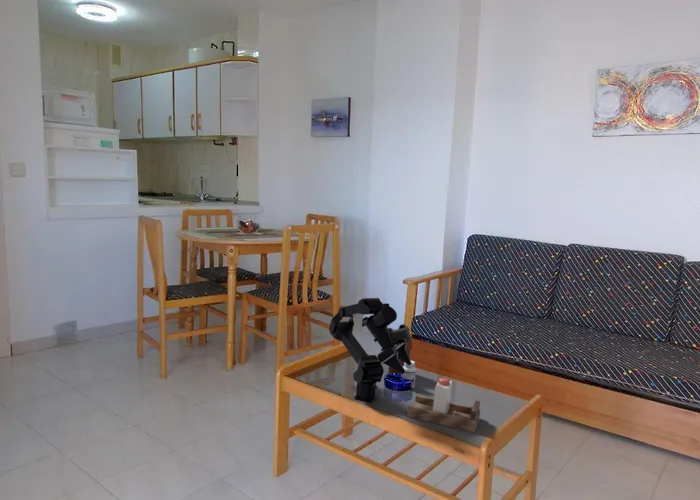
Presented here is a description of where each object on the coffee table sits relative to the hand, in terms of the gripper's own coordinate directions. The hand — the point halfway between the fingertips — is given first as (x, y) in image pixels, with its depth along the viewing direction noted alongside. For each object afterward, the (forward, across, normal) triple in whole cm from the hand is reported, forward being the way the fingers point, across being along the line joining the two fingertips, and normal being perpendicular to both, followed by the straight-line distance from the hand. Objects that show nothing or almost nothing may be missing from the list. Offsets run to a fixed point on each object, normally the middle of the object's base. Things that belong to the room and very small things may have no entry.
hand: (407, 368), depth 174 cm
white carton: (+18, -1, -1) cm, 18 cm away
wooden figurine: (+4, +32, +17) cm, 36 cm away
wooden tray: (+20, -1, 0) cm, 20 cm away
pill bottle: (+8, +20, +12) cm, 25 cm away
